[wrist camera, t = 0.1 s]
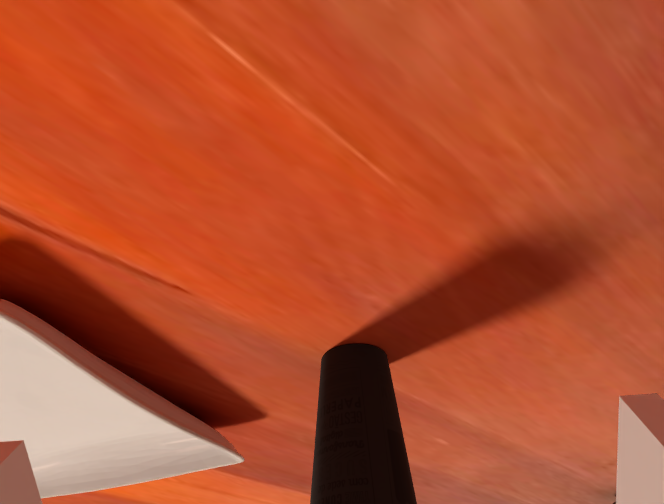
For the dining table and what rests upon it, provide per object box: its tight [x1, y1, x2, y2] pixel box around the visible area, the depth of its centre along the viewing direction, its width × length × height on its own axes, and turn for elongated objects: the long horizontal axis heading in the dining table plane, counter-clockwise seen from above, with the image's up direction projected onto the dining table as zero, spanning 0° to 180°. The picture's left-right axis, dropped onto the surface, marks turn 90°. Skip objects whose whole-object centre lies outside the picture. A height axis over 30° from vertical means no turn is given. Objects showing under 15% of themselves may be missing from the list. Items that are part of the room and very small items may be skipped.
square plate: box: [0, 299, 244, 498], centre depth 43 cm, size 27×27×4 cm
